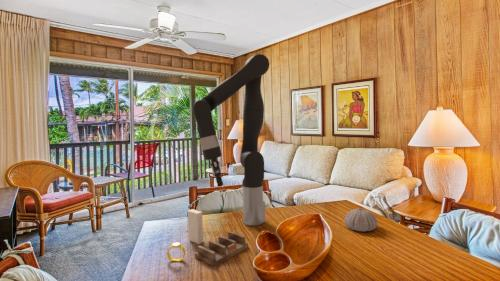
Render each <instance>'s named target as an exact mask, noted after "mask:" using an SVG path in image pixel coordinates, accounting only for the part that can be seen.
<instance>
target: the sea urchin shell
mask: <svg viewBox="0 0 500 281" xmlns="http://www.w3.org/2000/svg"><path fill="white" fill-rule="evenodd" d="M344 224H345V226H347V228H348V229H350V230H352V231H357V232H370V231H373V230H376V229H377V227H378V219H377V218H376V216H375V215H374V214H373V213H372V212H371V211H369V210H367V209H363V208H354V209H352V210H350V211H348V212H347V213H346V214H345V216H344Z"/></svg>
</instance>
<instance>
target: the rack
mask: <svg viewBox="0 0 500 281" xmlns="http://www.w3.org/2000/svg"><path fill="white" fill-rule="evenodd" d="M248 248H249V243H248V242H246V236H245V235H242V234H239V233H237V232H234V231H228V232H227V236H223V235H219V236H218V241H217V242H215V241H214V240H209V241H208V246H207V247H204V246H202V245H197V251H196V252H195V253H194V257H195V258H196V259H198V260H200V261H202V262H204V263H206V264H208V265H209V266H212V267H215V268H216V267H217V266H219V265H221V264H222V263H223V262H226V261H227V260H229V259H231V258H232V257H234V256H236V255H237V254H239V253H241V252H242V251H244V250H246V249H248Z"/></svg>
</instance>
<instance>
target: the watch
mask: <svg viewBox="0 0 500 281" xmlns="http://www.w3.org/2000/svg"><path fill="white" fill-rule="evenodd" d="M172 248H174V249H176V248H180V249H181V251H182V252H183V253H182V254H183V255H182V257H181V258H173V257H172V256H171V255H170V249H172ZM166 256H167V259H168V260H170V261H171V262H178V263H180V262H181V261H183V260H184V258H185V256H186V249H185V247H184V245H181V242H178V241H175V242H173V243H172V244H171V245H170V246H169V247H168V249H167V252H166Z"/></svg>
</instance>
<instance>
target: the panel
mask: <svg viewBox="0 0 500 281" xmlns="http://www.w3.org/2000/svg"><path fill="white" fill-rule="evenodd" d="M203 223H204V222H203V211H201V210H197V209H193V208H190V209H188V210H187V229H188V231H187V232H188V240H189V241H191V242H193V243H195V244H197V245H199V244H201V243H203V242H204V228H203V227H204V224H203Z"/></svg>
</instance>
